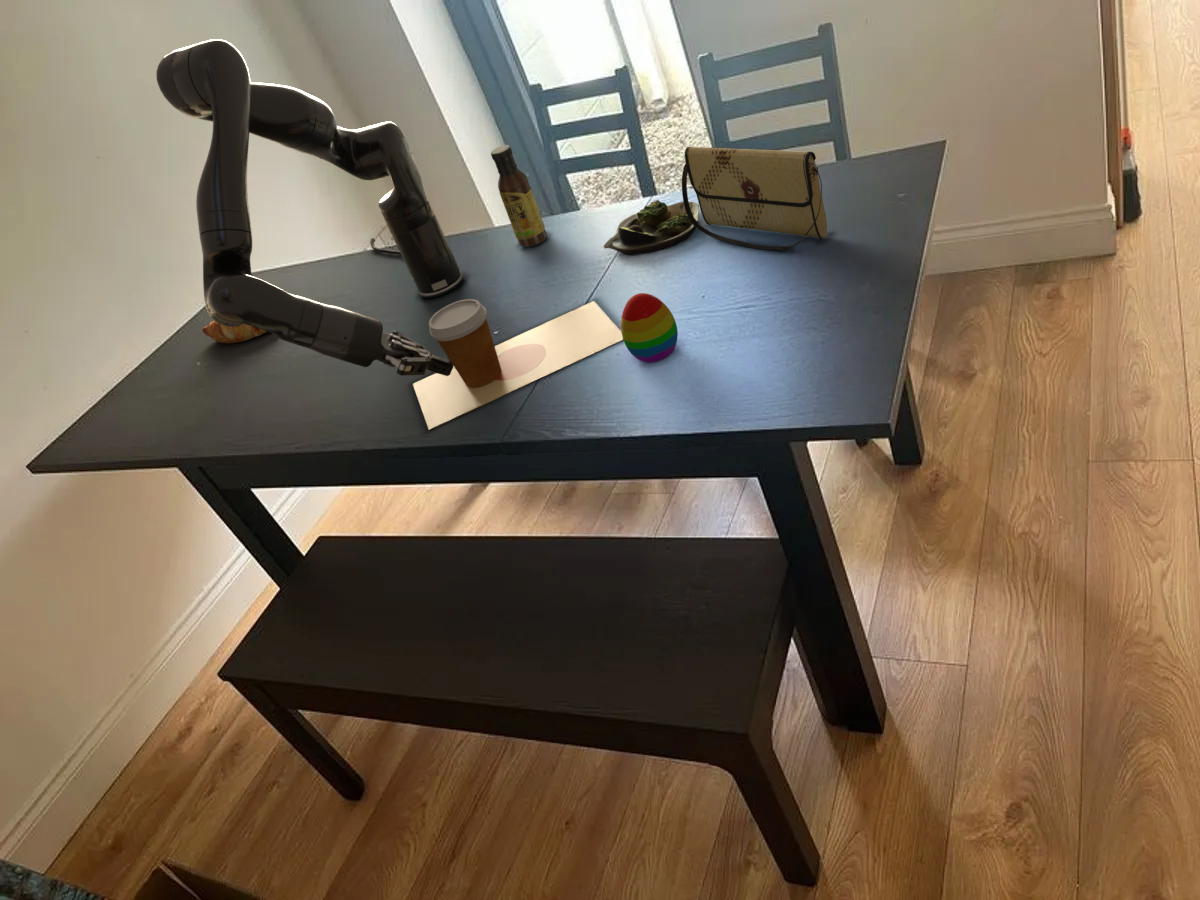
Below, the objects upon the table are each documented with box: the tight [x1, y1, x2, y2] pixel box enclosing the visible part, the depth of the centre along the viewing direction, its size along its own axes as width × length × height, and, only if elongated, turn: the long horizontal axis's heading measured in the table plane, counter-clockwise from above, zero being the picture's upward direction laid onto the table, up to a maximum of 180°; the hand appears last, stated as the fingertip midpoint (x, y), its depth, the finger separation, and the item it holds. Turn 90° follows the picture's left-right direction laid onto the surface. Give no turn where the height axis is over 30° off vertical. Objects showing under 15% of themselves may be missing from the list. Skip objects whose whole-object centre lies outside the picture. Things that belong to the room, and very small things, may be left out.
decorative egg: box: [620, 292, 679, 364], centre depth 139 cm, size 8×8×10 cm
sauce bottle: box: [490, 144, 548, 248], centre depth 187 cm, size 6×6×20 cm
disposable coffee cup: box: [428, 298, 502, 388], centre depth 150 cm, size 10×10×12 cm
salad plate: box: [603, 199, 700, 256], centre depth 177 cm, size 19×18×5 cm
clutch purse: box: [681, 146, 828, 251], centre depth 158 cm, size 30×7×15 cm, turn 43°
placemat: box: [412, 300, 624, 431], centre depth 154 cm, size 17×34×1 cm, turn 109°
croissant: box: [201, 320, 268, 344], centre depth 201 cm, size 21×10×8 cm, turn 74°
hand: (450, 368), depth 151 cm, fingers closed
